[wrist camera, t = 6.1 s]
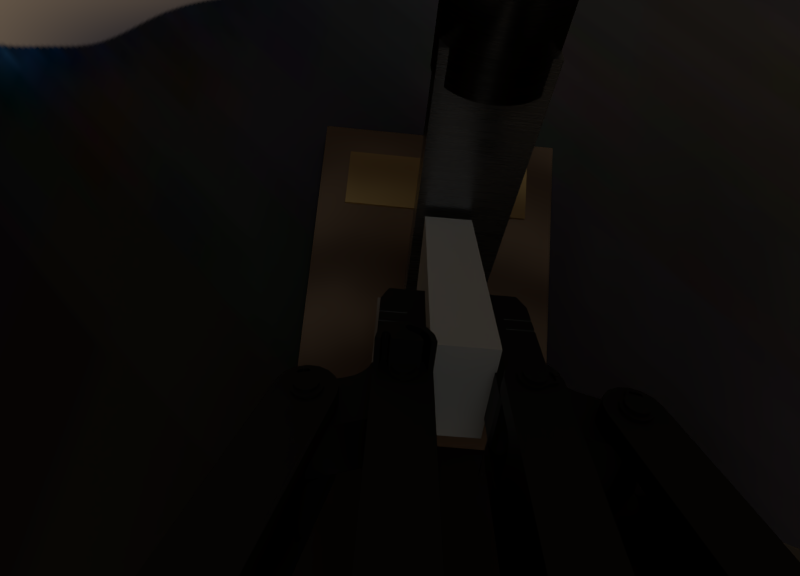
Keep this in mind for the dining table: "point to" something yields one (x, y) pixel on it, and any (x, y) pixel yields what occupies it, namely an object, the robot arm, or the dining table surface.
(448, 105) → the lever
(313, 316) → the press base
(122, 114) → the dining table surface
